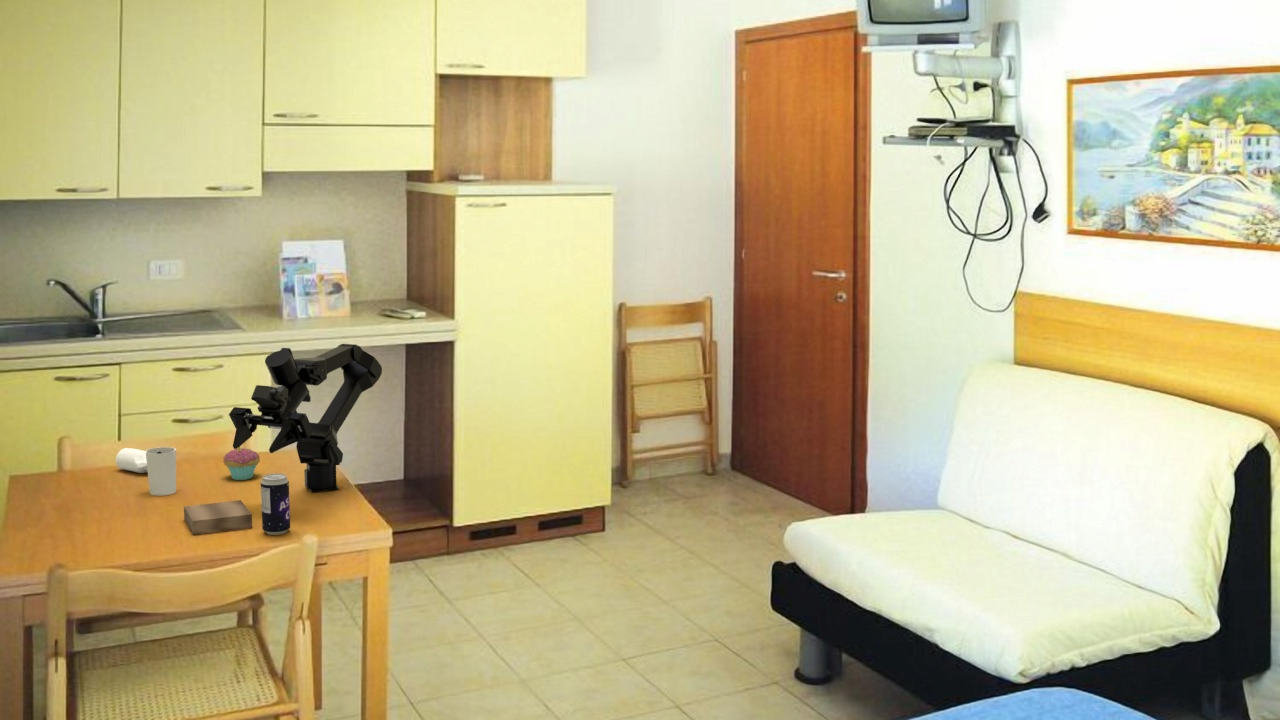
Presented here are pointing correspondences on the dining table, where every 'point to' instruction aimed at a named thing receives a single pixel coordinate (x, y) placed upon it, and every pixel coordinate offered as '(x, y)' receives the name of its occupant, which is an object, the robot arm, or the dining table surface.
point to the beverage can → (275, 504)
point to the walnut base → (217, 517)
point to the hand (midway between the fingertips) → (252, 449)
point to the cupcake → (241, 463)
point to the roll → (132, 460)
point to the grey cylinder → (161, 470)
